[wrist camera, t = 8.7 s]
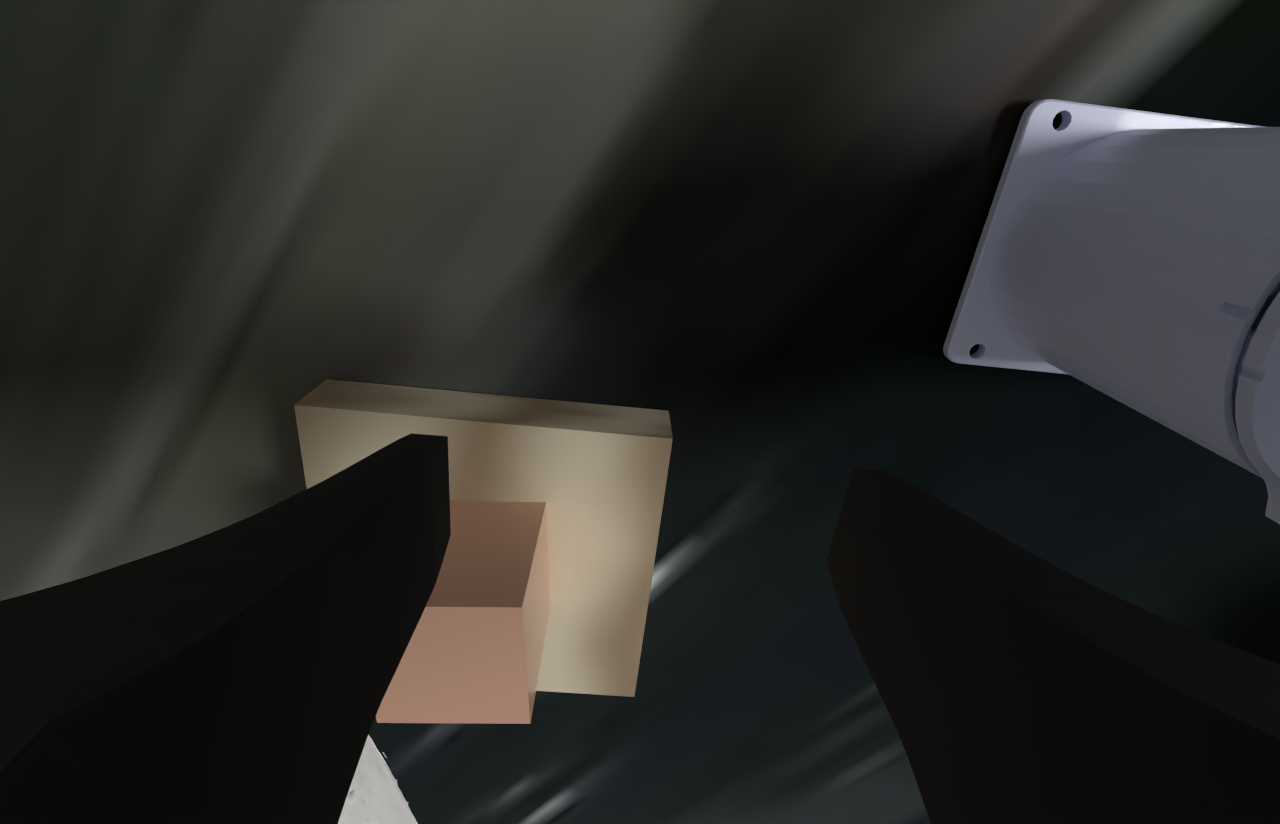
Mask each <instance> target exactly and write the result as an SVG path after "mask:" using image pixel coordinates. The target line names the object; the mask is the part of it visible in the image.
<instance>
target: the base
mask: <svg viewBox="0 0 1280 824" xmlns="http://www.w3.org/2000/svg"><path fill="white" fill-rule="evenodd" d="M294 408H295V415H296V421H297V428H298V435H299V441H300V448H301V455H302V461H303V468H304V475H305V481H306V488H307V489H308V488H310V487H312V486H314V485H316V484H318V483H320V482H322V481H324V480H326V479H328V478H329V477H331V476H333V475H335V474H337V473H339V472H340V471H342V470H344V469H346V468H348V467H349V466H351V465H353V464H355V463H357V462H358V461H360V460H362V459H364V458H366V457H367V456H369V455H371V454H373V453H375V452H376V451H378V450H380V449H382V448H383V447H385V446H387V445H389V444H391V443H393V442H395V441H396V440H398V439H400V438H402V437H404V436H407V435H409V434H411V433H413V434H425V435H438V436H448V460H449V494H450V501H499V502H546V512H547V534H548V557H549V579H550V602H551V604H550V610H549V616H548V622H547V628H546V634H545V640H544V645H543V651H542V657H541V663H540V669H539V675H538V681H537V687H536V691H550V692H566V693H582V694H598V695H615V696H631V697H634V695H635V689H636V682H637V675H638V669H639V662H640V655H641V648H642V642H643V635H644V628H645V621H646V615H647V608H648V601H649V595H650V588H651V581H652V574H653V568H654V561H655V554H656V547H657V541H658V534H659V527H660V521H661V514H662V507H663V500H664V494H665V487H666V480H667V473H668V467H669V460H670V453H671V447H672V440H673V438H672V431H671V424H670V417H669V411H667V410H656V409H645V408H634V407H624V406H613V405H602V404H591V403H580V402H569V401H558V400H548V399H537V398H526V397H515V396H504V395H493V394H483V393H472V392H461V391H450V390H439V389H428V388H417V387H407V386H396V385H385V384H374V383H363V382H352V381H341V380H331V379H326V380H325V381H324V382H322V383H321V384H320V385H319V386H317V387H316V388H315V389H314V390H312V391H311V392H310V393H309V394H307V395H306V396H305V397H304V398H302V399H301V400H300V401H299V402H297V403H296V404H295V405H294Z"/></svg>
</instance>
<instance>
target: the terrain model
mask: <svg viewBox="0 0 1280 824" xmlns="http://www.w3.org/2000/svg"><path fill="white" fill-rule="evenodd" d="M383 754H384V752H383ZM384 755H385V754H384ZM385 757H386V755H385ZM386 758H387V757H386ZM396 781H397V780H396V779H395V778H394V777H393V775H392V774H391V771H390V769H389V767H388V766H387V764H386V762H385V760H384V759H383V757H382V755H381V754H380V752H379V751H378V749H377V748H376V746H375V744H374V742H373V741H372V739H371V738H370V736H369V735H368V737H367V740H366V742H365V745H364V748H363V751H362V754H361V757H360V760H359V763H358V766H357V768H356V771H355V774H354V777H353V780H352V783H351V786H350V789H349V791H348V794H347V797H346V800H345V803H344V806H343V809H342V812H341V815H340V818H339V821H338V824H418V823H417V821H416V820H415V818H414V816H413V814H412V813H411V811H410V809H409V807H408V802H406V800H405V799H404V797H403V794H402V793H401V791H400V789H399V788H398V786H397V782H396Z"/></svg>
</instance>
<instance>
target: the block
mask: <svg viewBox="0 0 1280 824" xmlns="http://www.w3.org/2000/svg"><path fill="white" fill-rule="evenodd" d="M450 527H451V535H450V539H449V542H448V546H447V549H446V552H445V556H444V559H443V563H442V566H441V569H440V572H439V575H438V578H437V581H436V585H435V587H434V589H433V591H432V594H431V596H430V598H429V600H428V602H427V605H426V607H425V609H424V611H423V613H422V616H421V618H420V620H419V622H418V624H417V627H416V629H415V631H414V633H413V635H412V637H411V639H410V642H409V644H408V646H407V648H406V650H405V652H404V655H403V657H402V659H401V661H400V663H399V665H398V667H397V670H396V672H395V674H394V676H393V678H392V680H391V683H390V685H389V687H388V689H387V691H386V693H385V695H384V698H383V700H382V702H381V704H380V707H379V709H378V712H377V714H376V719H377V723H503V724H530V722H531V717H532V711H533V705H534V699H535V693H536V687H537V681H538V675H539V669H540V663H541V657H542V651H543V645H544V640H545V634H546V628H547V622H548V616H549V610H550V604H551V602H550V579H549V557H548V534H547V512H546V502H499V501H450Z"/></svg>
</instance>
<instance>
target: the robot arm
mask: <svg viewBox="0 0 1280 824" xmlns="http://www.w3.org/2000/svg"><path fill="white" fill-rule="evenodd" d="M1059 112H1060V113H1061V115H1062V123H1061V124H1060V126H1059V127H1058V128H1057V129H1054V127H1053V125H1052V124H1053V119H1054V117H1055V116H1056V114H1058V113H1059ZM976 344H979V349H978V350H977V352H975V353H974V354H971V355H969V354H970V349H971V348H972V347H973V346H974V345H976ZM943 352H944V355H945V356H946V357H947V358H948V359H949V360H951V361H952V362H955V363H960V364H970V365H980V366H990V367H1000V368H1010V369H1020V370H1030V371H1040V372H1050V373H1060V374H1069V375H1071V376H1073V377H1075V378H1077V379H1079V380H1081V381H1082V382H1084V383H1086V384H1088V385H1090V386H1092V387H1094V388H1095V389H1097V390H1099V391H1101V392H1103V393H1105V394H1107V395H1108V396H1110V397H1112V398H1114V399H1116V400H1118V401H1120V402H1122V403H1123V404H1125V405H1127V406H1129V407H1131V408H1133V409H1135V410H1136V411H1138V412H1140V413H1142V414H1144V415H1146V416H1148V417H1149V418H1151V419H1153V420H1155V421H1157V422H1159V423H1161V424H1163V425H1164V426H1166V427H1168V428H1170V429H1172V430H1174V431H1176V432H1177V433H1179V434H1181V435H1183V436H1185V437H1187V438H1189V439H1190V440H1192V441H1194V442H1196V443H1198V444H1200V445H1202V446H1204V447H1205V448H1207V449H1209V450H1211V451H1213V452H1215V453H1217V454H1218V455H1220V456H1222V457H1224V458H1226V459H1228V460H1230V461H1231V462H1233V463H1235V464H1237V465H1239V466H1241V467H1243V468H1245V469H1246V470H1248V471H1250V472H1252V473H1254V474H1256V475H1258V476H1259V477H1261V478H1263V479H1264V480H1265V483H1266V486H1267V489H1268V503H1267V507H1266V516H1267V517H1268V518H1270V519H1272V520H1273V521H1275V522H1277V523H1278V524H1280V127H1262V126H1255V125H1247V124H1239V123H1232V122H1224V121H1216V120H1208V119H1201V118H1193V117H1185V116H1178V115H1170V114H1162V113H1154V112H1147V111H1139V110H1131V109H1124V108H1116V107H1108V106H1100V105H1093V104H1085V103H1077V102H1070V101H1062V100H1054V99H1047V100H1037V101H1036V102H1034V103H1032V104H1030V105H1029V106H1028V107H1027V108H1026V109H1025V111H1024V113H1023V115H1022V117H1021V120H1020V122H1019V125H1018V128H1017V131H1016V134H1015V137H1014V140H1013V143H1012V146H1011V149H1010V152H1009V155H1008V158H1007V161H1006V164H1005V167H1004V170H1003V172H1002V175H1001V178H1000V181H999V184H998V187H997V190H996V193H995V196H994V199H993V202H992V205H991V208H990V211H989V214H988V217H987V220H986V222H985V225H984V228H983V231H982V234H981V237H980V240H979V243H978V246H977V249H976V252H975V255H974V258H973V261H972V264H971V267H970V270H969V272H968V275H967V278H966V281H965V284H964V287H963V290H962V293H961V296H960V299H959V302H958V305H957V308H956V311H955V314H954V317H953V320H952V322H951V325H950V328H949V331H948V334H947V337H946V340H945V343H944V347H943ZM450 535H451V527H450V494H449V460H448V436H438V435H425V434H413V433H411V434H409V435H407V436H404V437H402V438H400V439H398V440H396V441H395V442H393V443H391V444H389V445H387V446H385V447H383V448H382V449H380V450H378V451H376V452H375V453H373V454H371V455H369V456H367V457H366V458H364V459H362V460H360V461H358V462H357V463H355V464H353V465H351V466H349V467H348V468H346V469H344V470H342V471H340V472H339V473H337V474H335V475H333V476H331V477H329V478H328V479H326V480H324V481H322V482H320V483H318V484H316V485H314V486H312V487H310V488H308V489H306V490H304V491H302V492H300V493H298V494H296V495H294V496H292V497H290V498H288V499H286V500H284V501H282V502H280V503H278V504H276V505H274V506H272V507H270V508H268V509H266V510H264V511H262V512H259V513H257V514H255V515H253V516H251V517H248V518H246V519H244V520H241V521H239V522H237V523H235V524H232V525H230V526H228V527H225V528H223V529H220V530H218V531H215V532H213V533H210V534H208V535H205V536H202V537H200V538H197V539H195V540H192V541H190V542H187V543H185V544H182V545H179V546H177V547H174V548H171V549H168V550H165V551H162V552H159V553H156V554H153V555H150V556H147V557H144V558H141V559H138V560H135V561H132V562H129V563H126V564H123V565H120V566H117V567H114V568H111V569H108V570H105V571H103V572H100V573H97V574H94V575H91V576H88V577H84V578H81V579H78V580H74V581H71V582H68V583H64V584H61V585H57V586H54V587H50V588H47V589H43V590H40V591H36V592H33V593H29V594H26V595H22V596H18V597H14V598H11V599H7V600H3V601H0V824H338V821H339V818H340V815H341V812H342V809H343V806H344V803H345V800H346V797H347V794H348V791H349V789H350V786H351V783H352V780H353V777H354V774H355V771H356V768H357V766H358V763H359V760H360V757H361V754H362V751H363V748H364V745H365V742H366V740H367V737H368V734H369V731H370V729H371V726H372V724H373V721H374V719H375V717H376V714H377V712H378V709H379V707H380V704H381V702H382V700H383V698H384V695H385V693H386V691H387V689H388V687H389V685H390V683H391V680H392V678H393V676H394V674H395V672H396V670H397V667H398V665H399V663H400V661H401V659H402V657H403V655H404V652H405V650H406V648H407V646H408V644H409V642H410V639H411V637H412V635H413V633H414V631H415V629H416V627H417V624H418V622H419V620H420V618H421V616H422V613H423V611H424V609H425V607H426V605H427V602H428V600H429V598H430V596H431V594H432V591H433V589H434V587H435V585H436V581H437V578H438V575H439V572H440V569H441V566H442V563H443V559H444V556H445V552H446V549H447V546H448V542H449V539H450ZM827 564H828V567H829V571H830V574H831V578H832V582H833V585H834V589H835V592H836V595H837V598H838V601H839V604H840V607H841V610H842V612H843V615H844V617H845V619H846V622H847V624H848V626H849V628H850V630H851V633H852V635H853V637H854V639H855V641H856V644H857V646H858V648H859V650H860V652H861V654H862V656H863V659H864V661H865V663H866V665H867V667H868V669H869V671H870V674H871V676H872V678H873V680H874V682H875V684H876V686H877V688H878V691H879V693H880V695H881V697H882V699H883V701H884V703H885V706H886V708H887V710H888V712H889V714H890V716H891V718H892V720H893V723H894V725H895V727H896V729H897V732H898V734H899V737H900V739H901V741H902V744H903V746H904V749H905V751H906V753H907V756H908V759H909V762H910V764H911V767H912V770H913V773H914V776H915V779H916V781H917V784H918V787H919V790H920V793H921V796H922V799H923V801H924V804H925V807H926V810H927V813H928V816H929V819H930V822H931V824H1280V664H1278V663H1275V662H1273V661H1270V660H1267V659H1265V658H1262V657H1259V656H1257V655H1254V654H1251V653H1248V652H1246V651H1243V650H1241V649H1238V648H1235V647H1233V646H1230V645H1228V644H1225V643H1223V642H1221V641H1218V640H1216V639H1213V638H1211V637H1208V636H1206V635H1203V634H1201V633H1198V632H1196V631H1193V630H1191V629H1189V628H1186V627H1184V626H1181V625H1179V624H1176V623H1174V622H1172V621H1169V620H1167V619H1165V618H1162V617H1160V616H1158V615H1155V614H1153V613H1151V612H1148V611H1146V610H1144V609H1142V608H1140V607H1137V606H1135V605H1133V604H1131V603H1129V602H1127V601H1125V600H1123V599H1120V598H1118V597H1116V596H1114V595H1112V594H1110V593H1108V592H1106V591H1104V590H1101V589H1099V588H1097V587H1095V586H1093V585H1091V584H1089V583H1087V582H1085V581H1083V580H1081V579H1079V578H1077V577H1075V576H1073V575H1071V574H1069V573H1067V572H1065V571H1063V570H1061V569H1059V568H1058V567H1056V566H1054V565H1052V564H1050V563H1048V562H1047V561H1045V560H1043V559H1041V558H1039V557H1037V556H1035V555H1034V554H1032V553H1030V552H1028V551H1026V550H1024V549H1023V548H1021V547H1019V546H1017V545H1016V544H1014V543H1012V542H1010V541H1009V540H1007V539H1005V538H1003V537H1002V536H1000V535H998V534H996V533H995V532H993V531H991V530H990V529H988V528H986V527H985V526H983V525H981V524H979V523H978V522H976V521H974V520H973V519H971V518H969V517H968V516H966V515H964V514H963V513H961V512H959V511H958V510H956V509H954V508H953V507H951V506H949V505H948V504H946V503H944V502H943V501H941V500H939V499H938V498H936V497H934V496H933V495H931V494H929V493H927V492H926V491H924V490H922V489H920V488H919V487H917V486H915V485H913V484H912V483H910V482H908V481H906V480H904V479H902V478H900V477H898V476H896V475H894V474H891V473H889V472H887V471H875V470H863V469H853V473H852V476H851V480H850V483H849V486H848V490H847V493H846V496H845V500H844V503H843V506H842V510H841V513H840V516H839V520H838V523H837V526H836V530H835V533H834V537H833V540H832V543H831V547H830V550H829V553H828V557H827Z"/></svg>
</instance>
